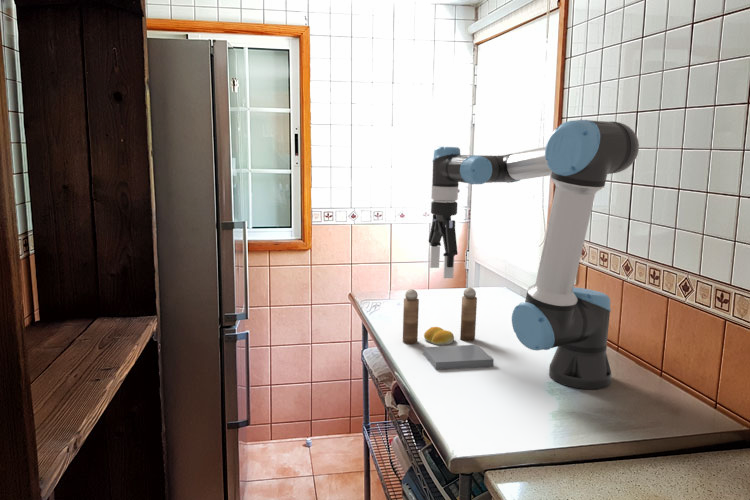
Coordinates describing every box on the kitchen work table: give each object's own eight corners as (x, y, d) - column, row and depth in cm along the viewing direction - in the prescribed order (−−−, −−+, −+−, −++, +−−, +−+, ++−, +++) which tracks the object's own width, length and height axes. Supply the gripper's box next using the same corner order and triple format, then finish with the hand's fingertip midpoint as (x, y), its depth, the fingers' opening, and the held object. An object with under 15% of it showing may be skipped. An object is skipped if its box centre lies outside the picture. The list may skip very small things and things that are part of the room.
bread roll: (441, 348, 180) (441, 334, 179) (419, 340, 187) (420, 327, 186) (460, 342, 185) (460, 329, 185) (438, 334, 192) (439, 322, 191)
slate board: (493, 366, 166) (493, 359, 165) (435, 369, 162) (435, 362, 162) (477, 351, 177) (477, 344, 177) (423, 354, 174) (423, 347, 174)
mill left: (419, 343, 183) (420, 291, 180) (404, 344, 182) (406, 291, 179) (415, 339, 187) (416, 287, 184) (401, 339, 186) (402, 287, 183)
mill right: (476, 341, 186) (479, 289, 183) (463, 341, 185) (465, 289, 182) (471, 336, 190) (474, 285, 188) (458, 337, 190) (460, 286, 187)
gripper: (471, 206, 167) (467, 282, 171) (443, 196, 191) (440, 263, 195) (445, 206, 166) (441, 283, 170) (420, 196, 190) (417, 263, 194)
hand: (441, 272), depth 183 cm, fingers open, 13 cm apart
